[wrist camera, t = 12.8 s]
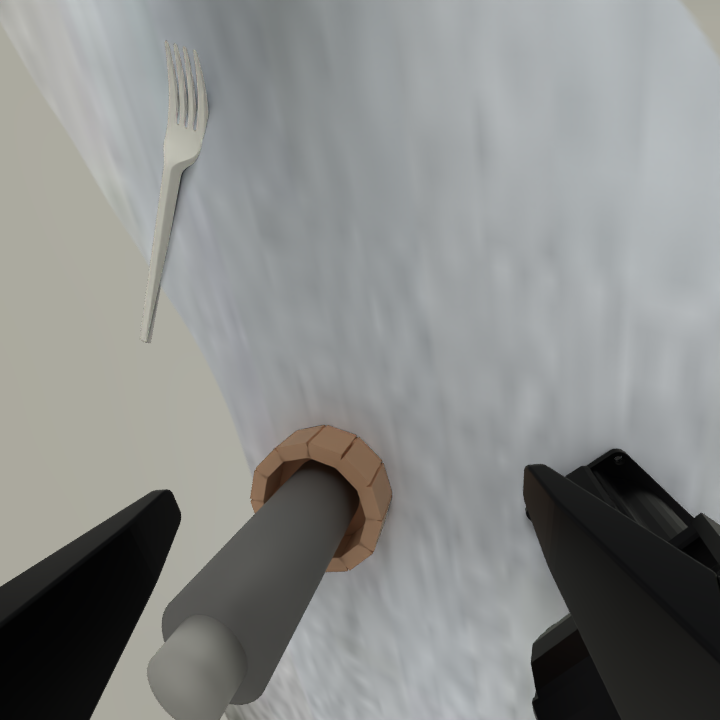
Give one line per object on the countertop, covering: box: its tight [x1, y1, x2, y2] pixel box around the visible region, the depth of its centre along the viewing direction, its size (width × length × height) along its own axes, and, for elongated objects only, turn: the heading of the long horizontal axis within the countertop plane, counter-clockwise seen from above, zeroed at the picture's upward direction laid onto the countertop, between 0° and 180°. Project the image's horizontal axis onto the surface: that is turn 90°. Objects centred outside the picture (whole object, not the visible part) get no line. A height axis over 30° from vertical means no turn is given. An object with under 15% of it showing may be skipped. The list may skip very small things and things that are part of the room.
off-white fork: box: [140, 41, 209, 343], centre depth 25 cm, size 3×20×2 cm, turn 157°
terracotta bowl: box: [250, 425, 392, 572], centre depth 24 cm, size 9×9×3 cm
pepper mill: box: [147, 459, 360, 720], centre depth 18 cm, size 5×5×13 cm
